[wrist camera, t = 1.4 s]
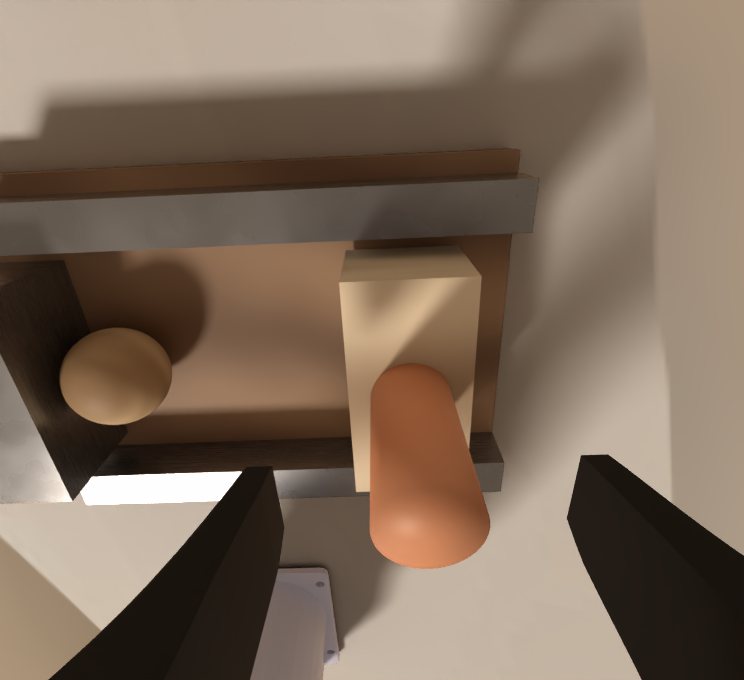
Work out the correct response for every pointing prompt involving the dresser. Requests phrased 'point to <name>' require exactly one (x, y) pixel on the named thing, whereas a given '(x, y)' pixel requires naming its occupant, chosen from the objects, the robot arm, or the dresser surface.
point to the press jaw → (414, 399)
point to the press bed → (220, 316)
